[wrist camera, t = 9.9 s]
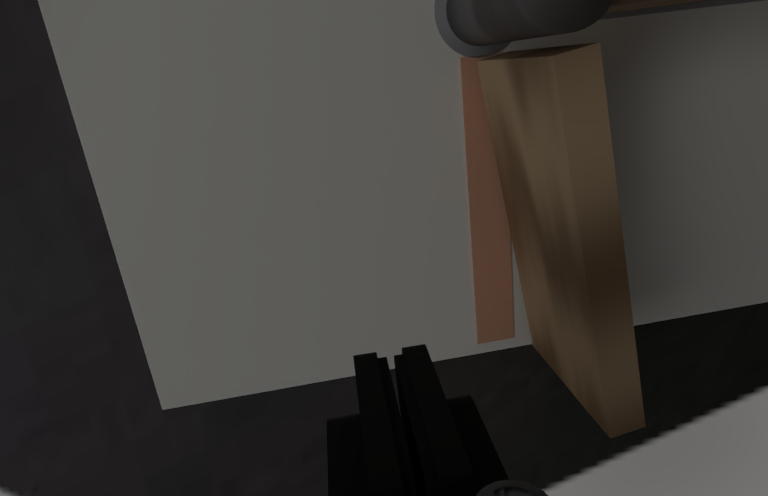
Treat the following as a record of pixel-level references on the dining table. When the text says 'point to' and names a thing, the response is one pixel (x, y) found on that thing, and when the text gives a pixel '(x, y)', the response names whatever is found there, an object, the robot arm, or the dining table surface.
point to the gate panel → (567, 221)
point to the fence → (533, 17)
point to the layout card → (387, 176)
